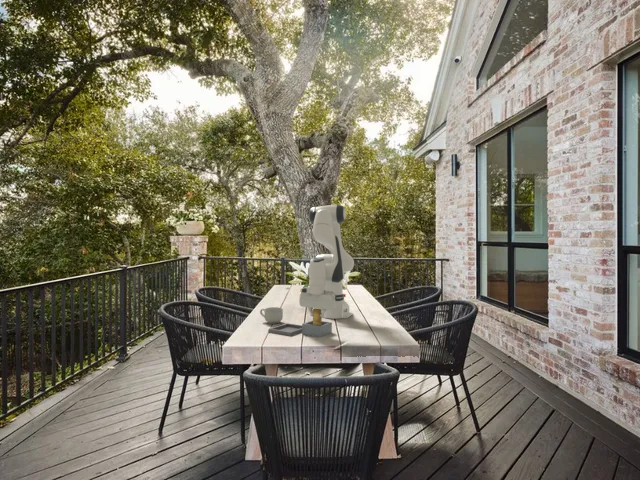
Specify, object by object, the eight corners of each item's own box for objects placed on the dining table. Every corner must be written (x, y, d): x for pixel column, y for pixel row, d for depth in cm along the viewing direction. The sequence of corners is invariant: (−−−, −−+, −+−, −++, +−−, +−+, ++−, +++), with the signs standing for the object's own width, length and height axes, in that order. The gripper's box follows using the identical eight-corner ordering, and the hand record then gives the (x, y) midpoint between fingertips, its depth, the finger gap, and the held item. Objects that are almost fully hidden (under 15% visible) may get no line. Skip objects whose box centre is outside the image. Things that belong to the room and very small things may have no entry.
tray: (287, 327, 222) (287, 323, 222) (308, 331, 214) (308, 326, 214) (268, 333, 208) (268, 328, 208) (290, 337, 201) (290, 332, 201)
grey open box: (313, 331, 214) (313, 319, 214) (331, 334, 208) (331, 322, 208) (302, 335, 205) (302, 323, 205) (320, 338, 199) (320, 326, 199)
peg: (315, 331, 210) (316, 308, 209) (323, 332, 207) (323, 309, 207) (311, 332, 206) (311, 309, 206) (318, 334, 204) (318, 310, 203)
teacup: (286, 322, 236) (286, 308, 236) (275, 325, 227) (275, 311, 227) (267, 319, 243) (267, 306, 243) (255, 322, 234) (256, 308, 234)
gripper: (338, 290, 203) (338, 318, 204) (304, 287, 214) (304, 313, 214) (331, 292, 198) (331, 320, 198) (297, 288, 209) (297, 315, 209)
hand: (317, 316), depth 206 cm, fingers closed on peg, 4 cm apart
